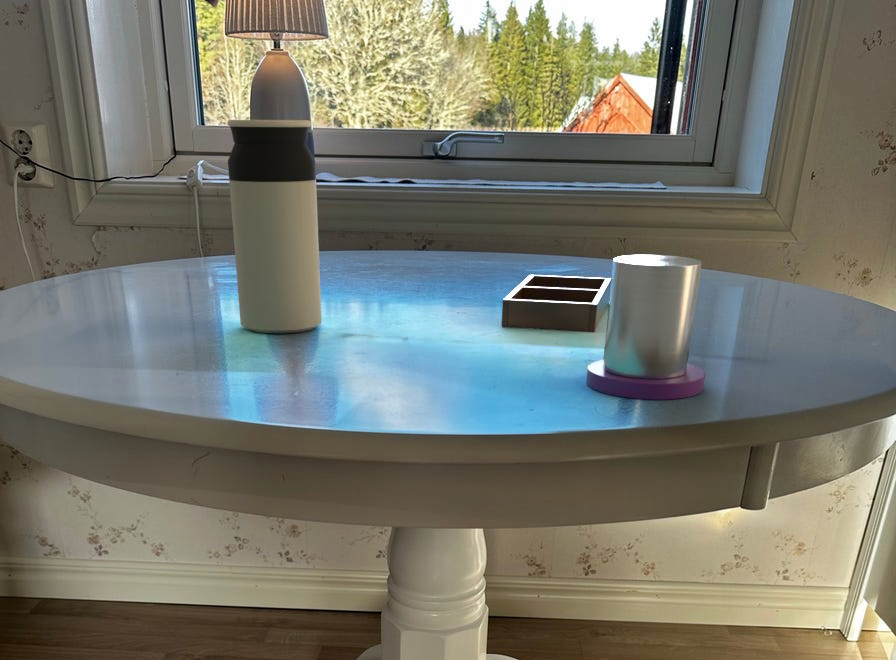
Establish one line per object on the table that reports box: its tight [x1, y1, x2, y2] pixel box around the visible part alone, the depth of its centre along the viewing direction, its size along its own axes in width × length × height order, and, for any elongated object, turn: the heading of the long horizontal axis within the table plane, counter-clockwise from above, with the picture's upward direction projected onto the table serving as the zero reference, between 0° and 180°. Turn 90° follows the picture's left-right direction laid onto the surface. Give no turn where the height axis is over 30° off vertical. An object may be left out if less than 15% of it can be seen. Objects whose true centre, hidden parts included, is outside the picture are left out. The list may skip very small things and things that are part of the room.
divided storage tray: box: [501, 274, 612, 333], centre depth 99 cm, size 9×17×3 cm, turn 165°
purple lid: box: [586, 359, 706, 401], centre depth 75 cm, size 9×9×1 cm
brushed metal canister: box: [602, 254, 703, 379], centre depth 72 cm, size 6×6×8 cm
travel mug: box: [226, 119, 323, 334], centre depth 90 cm, size 8×8×18 cm
